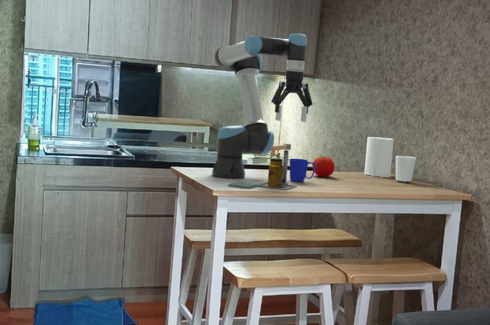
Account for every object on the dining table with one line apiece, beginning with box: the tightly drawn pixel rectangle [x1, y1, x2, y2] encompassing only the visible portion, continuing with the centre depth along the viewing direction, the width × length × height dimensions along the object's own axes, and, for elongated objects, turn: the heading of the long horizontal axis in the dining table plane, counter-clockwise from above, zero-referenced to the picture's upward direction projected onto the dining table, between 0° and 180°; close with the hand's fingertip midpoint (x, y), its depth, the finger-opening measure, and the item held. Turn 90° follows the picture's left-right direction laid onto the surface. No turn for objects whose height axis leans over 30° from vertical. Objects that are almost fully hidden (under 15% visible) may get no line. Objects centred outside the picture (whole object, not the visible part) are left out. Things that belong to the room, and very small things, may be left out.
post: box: [282, 149, 290, 185], centre depth 292 cm, size 4×4×15 cm
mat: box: [227, 181, 259, 190], centre depth 278 cm, size 9×10×1 cm
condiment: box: [264, 157, 287, 188], centre depth 284 cm, size 7×8×12 cm
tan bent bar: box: [270, 142, 292, 157], centre depth 285 cm, size 4×18×4 cm, turn 156°
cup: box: [395, 155, 417, 184], centre depth 333 cm, size 10×10×13 cm
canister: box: [364, 136, 394, 178], centre depth 354 cm, size 14×14×20 cm
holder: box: [257, 181, 298, 191], centre depth 285 cm, size 14×14×1 cm
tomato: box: [311, 156, 335, 178], centre depth 333 cm, size 11×13×10 cm
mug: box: [289, 158, 316, 183], centre depth 307 cm, size 8×12×10 cm
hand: (290, 121), depth 285 cm, fingers open, 13 cm apart
